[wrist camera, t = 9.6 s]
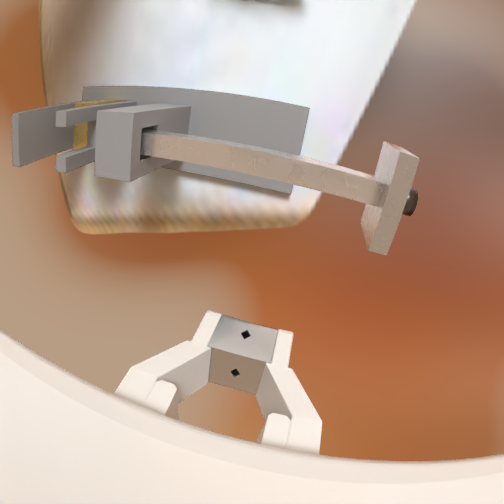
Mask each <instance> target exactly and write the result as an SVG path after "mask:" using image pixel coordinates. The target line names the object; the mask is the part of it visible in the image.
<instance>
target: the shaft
mask: <svg viewBox="0 0 504 504" xmlns="http://www.w3.org/2000/svg"><path fill="white" fill-rule="evenodd" d="M140 155H147V156H153V157H160V158H166V159H172V160H178V161H184V162H189V163H195V164H200V165H206V166H211V167H216V168H221V169H226V170H231V171H236V172H241V173H246V174H250V175H255V176H260V177H264V178H268V179H273V180H277V181H281V182H286V183H290V184H294V185H298V186H302V187H306V188H310V189H314V190H318V191H322V192H326V193H330V194H333V195H337V196H341V197H344V198H348V199H352V200H355V201H359V202H362V203H366V205H365V209H364V212H363V215H362V218H361V221H360V222H361V226H362V229H363V233H364V237H365V241H366V244H367V248H368V250H369V251H372V252H376V253H379V254H383V255H387V253H388V250H389V248H390V245H391V243H392V240H393V237H394V235H395V232H396V229H397V227H398V224H399V221H400V218H401V216H402V214H403V215H406V216H411V215H412V214H413V212H414V210H415V208H416V205H417V200H418V192H417V190H416V189H414V188H412V187H411V186H412V183H413V179H414V176H415V173H416V170H417V166H418V163H419V160H420V159H419V158H418V157H416V156H415V155H413V154H412V153H410V152H408V151H406V150H405V149H403V148H402V147H400V146H397V145H394V144H391V143H388V142H385V141H384V142H383V146H382V150H381V154H380V157H379V161H378V165H377V168H376V172H375V175H374V176H373V175H369V174H366V173H362V172H359V171H356V170H352V169H348V168H345V167H341V166H337V165H334V164H330V163H327V162H323V161H319V160H315V159H311V158H307V157H303V156H298V155H294V154H290V153H285V152H281V151H276V150H272V149H267V148H262V147H257V146H252V145H247V144H242V143H236V142H231V141H225V140H220V139H214V138H207V137H201V136H194V135H187V134H180V133H173V132H165V131H157V130H148V129H142V134H141V148H140Z"/></svg>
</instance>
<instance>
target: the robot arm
mask: <svg viewBox="0 0 504 504" xmlns="http://www.w3.org/2000/svg"><path fill="white" fill-rule="evenodd" d="M292 340H293V332H290V331H285V330H280V329H279V330H278V329H276V328H272V327H267V326H263V325H259V324H255V323H251V322H247V321H244V320H240V319H237V318H234V317H230V316H227V315H223V314H219V313H216V312H212V311H210V310H208V311H207V312H206V314H205V316H204V317H203V319H202V321H201V323H200V325H199V327H198V329H197V331H196V333H195V335H194V337H193V339H192V341H185V342H182V343H180V344H179V345H176V346H174V347H172V348H170V349H168V350H166V351H164V352H162V353H160V354H158V355H156V356H153V357H152V358H149V359H147V360H145V361H143V362H141V363H139V364H136V365H134V366H132V367H131V368H130V370H129V371H128V373H127V375H126V376H125V377H124V379H123V381H122V382H121V384H120V385H119V387H118V388H117V390H116V392H115V393H114V394H112V393H110V392H108V391H106V390H103V389H101V388H99V387H97V386H95V385H93V384H91V383H89V382H87V381H85V380H83V379H81V378H80V377H78V376H76V375H74V374H72V373H70V372H68V371H67V370H65V369H63V368H61V367H59V366H58V365H56V364H54V363H53V362H51V361H49V360H47V359H46V358H44V357H42V356H41V355H39V354H37V353H36V352H34V351H33V350H31V349H30V348H28V347H27V346H25V345H23V344H22V343H20V342H19V341H17V340H16V339H14V338H13V337H12V336H10V335H8V334H7V333H6V332H4V331H3V330H2V329H0V504H504V454H500V455H494V456H487V457H479V458H470V459H459V460H444V461H379V460H363V459H351V458H341V457H333V456H325V455H319V448H320V439H321V429H322V421H321V419H320V417H319V415H318V413H317V412H316V410H315V408H314V406H313V405H312V403H311V401H310V400H309V398H308V396H307V394H306V393H305V391H304V389H303V387H302V386H301V384H300V382H299V380H298V379H297V377H296V375H295V373H294V372H293V370H292V369H290V368H288V364H289V358H290V352H291V346H292ZM208 382H212V383H215V384H219V385H223V386H226V387H231V388H234V389H237V390H240V391H244V392H247V393H251V394H254V395H256V398H257V401H258V404H259V407H260V409H261V412H262V415H263V417H264V420H265V424H264V426H263V428H262V431H261V433H260V435H259V437H258V440H257V442H256V443H254V442H250V441H246V440H242V439H238V438H234V437H230V436H227V435H223V434H220V433H216V432H213V431H209V430H206V429H203V428H200V427H196V426H193V425H190V424H187V423H184V422H182V421H179V419H178V404H179V403H180V402H181V401H183V400H185V399H186V398H187V397H189V396H190V395H192V394H193V393H195V392H196V391H197V390H199V389H200V388H202V387H203V386H204V385H206V384H207V383H208Z"/></svg>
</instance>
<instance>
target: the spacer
mask: <svg viewBox="0 0 504 504" xmlns="http://www.w3.org/2000/svg"><path fill="white" fill-rule="evenodd" d="M125 101H126V100H122V99H105V100H95V101H87V102H80V103H75V108H78V107H85V106H92V105H99V104H107V103H116V102H125ZM87 130H88V122H85V123H81V124H76V125H74V143H73V150H76V149H79V148H82V147H85V146H87Z"/></svg>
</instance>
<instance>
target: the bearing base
mask: <svg viewBox="0 0 504 504" xmlns="http://www.w3.org/2000/svg"><path fill="white" fill-rule="evenodd" d="M105 99H122V100H126V101H125V102H116V103H107V104H99V105H92V106H85V107H78V108H75V103H80V102H87V101H95V100H105ZM309 109H310V108H308V107H303V106H299V105H294V104H289V103H284V102H279V101H274V100H268V99H262V98H257V97H250V96H244V95H237V94H230V93H222V92H214V91H204V90H194V89H182V88H168V87H147V86H93V87H83V95H82V101H79V102H71V103H65V104H59V105H53V106H47V107H42V108H37V109H31V110H27V111H22V112H17V113H14V114H12V159H13V166H16V167H21V166H24V165H27V164H29V163H32V162H34V161H37V160H39V159H42V158H45V157H48V156H50V155H53V154H56V153H59V152H62V151H65V150H68V149H71V148H73V143H74V125H76V124H81V123H85V122H88V130H87V146H85V147H82V148H79V149H76V150H73V151H70V152H67V153H64V154H61V155H59V156H56V171H58V172H64V173H67V172H69V171H71V170H74V169H76V168H79V167H81V166H84V165H86V164H89V163H91V162H94V161H95V176H99V177H105V178H110V179H116V180H121V181H126V182H131V181H133V180H135V179H137V178H139V177H141V176H143V175H145V174H147V173H149V172H151V171H153V170H155V169H157V168H159V167H163V168H168V169H174V170H180V171H185V172H190V173H195V174H201V175H206V176H211V177H216V178H221V179H225V180H230V181H235V182H240V183H244V184H249V185H253V186H258V187H262V188H266V189H271V190H275V191H279V192H284V193H288V194H291V192H292V188H293V184H290V183H286V182H281V181H277V180H273V179H268V178H264V177H260V176H255V175H250V174H246V173H241V172H236V171H231V170H226V169H221V168H216V167H211V166H206V165H200V164H195V163H189V162H184V161H178V160H172V159H166V158H160V157H153V156H147V155H140V148H141V134H142V129H148V130H157V131H165V132H173V133H180V134H187V135H194V136H201V137H207V138H214V139H220V140H225V141H231V142H236V143H242V144H247V145H252V146H257V147H262V148H267V149H272V150H276V151H281V152H285V153H290V154H294V155H298V156H300V151H301V147H302V142H303V137H304V133H305V128H306V123H307V118H308V113H309Z"/></svg>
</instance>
